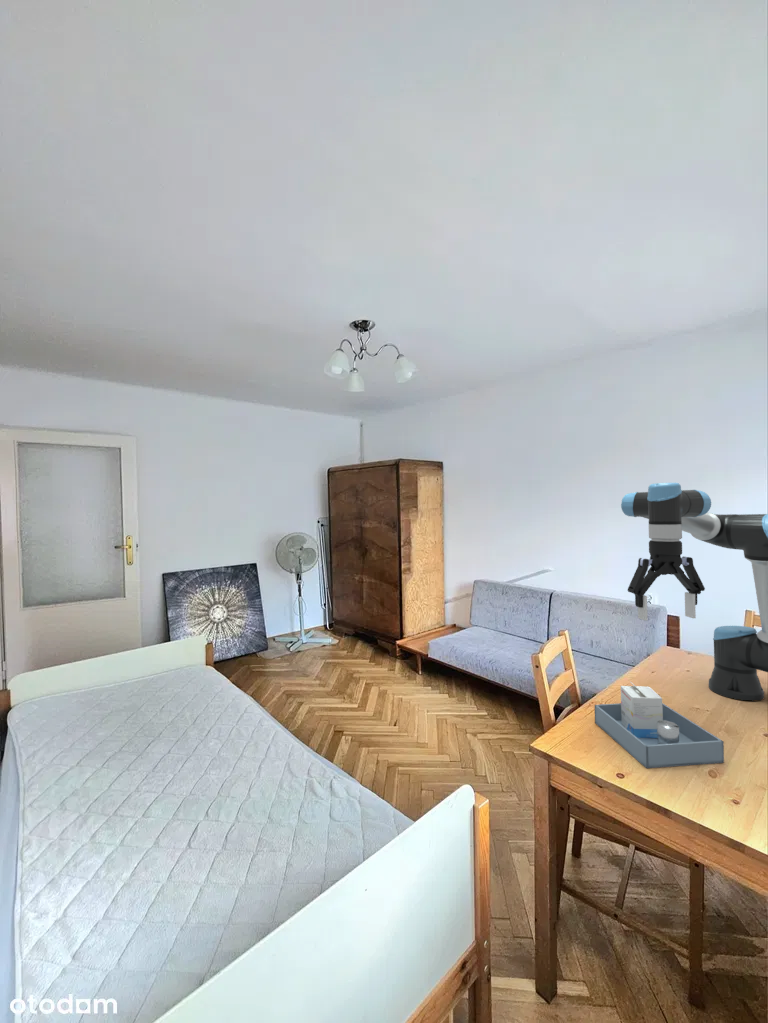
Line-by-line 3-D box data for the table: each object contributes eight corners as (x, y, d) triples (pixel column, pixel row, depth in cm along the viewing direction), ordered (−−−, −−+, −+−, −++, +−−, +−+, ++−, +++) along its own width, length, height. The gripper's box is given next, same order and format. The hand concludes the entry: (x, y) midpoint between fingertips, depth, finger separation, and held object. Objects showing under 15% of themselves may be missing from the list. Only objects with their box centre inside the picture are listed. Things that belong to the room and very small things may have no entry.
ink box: (664, 739, 120) (663, 692, 120) (633, 737, 121) (632, 691, 121) (650, 723, 129) (649, 680, 129) (620, 722, 130) (619, 679, 130)
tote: (659, 718, 133) (659, 700, 133) (723, 762, 110) (723, 741, 110) (594, 722, 131) (594, 704, 131) (646, 768, 108) (645, 746, 108)
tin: (684, 755, 113) (683, 729, 113) (666, 756, 112) (666, 730, 112) (670, 744, 118) (669, 719, 118) (653, 745, 117) (652, 720, 117)
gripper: (697, 537, 119) (698, 612, 119) (612, 540, 117) (614, 616, 117) (720, 539, 111) (721, 619, 112) (630, 542, 110) (631, 623, 110)
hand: (666, 618), depth 114 cm, fingers open, 13 cm apart
